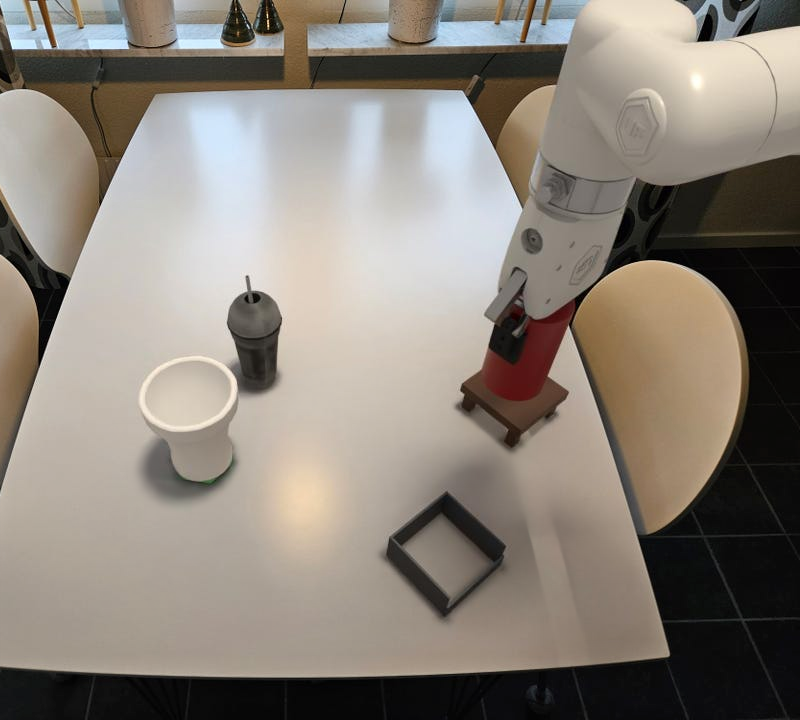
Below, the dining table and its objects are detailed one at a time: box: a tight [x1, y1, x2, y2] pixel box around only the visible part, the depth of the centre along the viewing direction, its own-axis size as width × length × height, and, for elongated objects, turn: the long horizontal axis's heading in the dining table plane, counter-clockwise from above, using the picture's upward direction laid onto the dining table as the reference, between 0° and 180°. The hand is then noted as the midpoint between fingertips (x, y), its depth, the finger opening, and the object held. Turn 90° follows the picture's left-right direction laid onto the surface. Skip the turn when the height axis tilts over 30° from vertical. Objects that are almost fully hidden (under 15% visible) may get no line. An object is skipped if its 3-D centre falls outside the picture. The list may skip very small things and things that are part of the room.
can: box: [480, 293, 576, 401], centre depth 63 cm, size 6×6×11 cm
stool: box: [459, 368, 570, 449], centre depth 88 cm, size 10×10×5 cm
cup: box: [138, 355, 239, 485], centre depth 78 cm, size 11×11×14 cm
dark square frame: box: [385, 490, 508, 618], centre depth 73 cm, size 9×9×4 cm
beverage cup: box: [226, 274, 283, 390], centre depth 86 cm, size 7×7×20 cm
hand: (526, 337), depth 63 cm, fingers closed on can, 6 cm apart
